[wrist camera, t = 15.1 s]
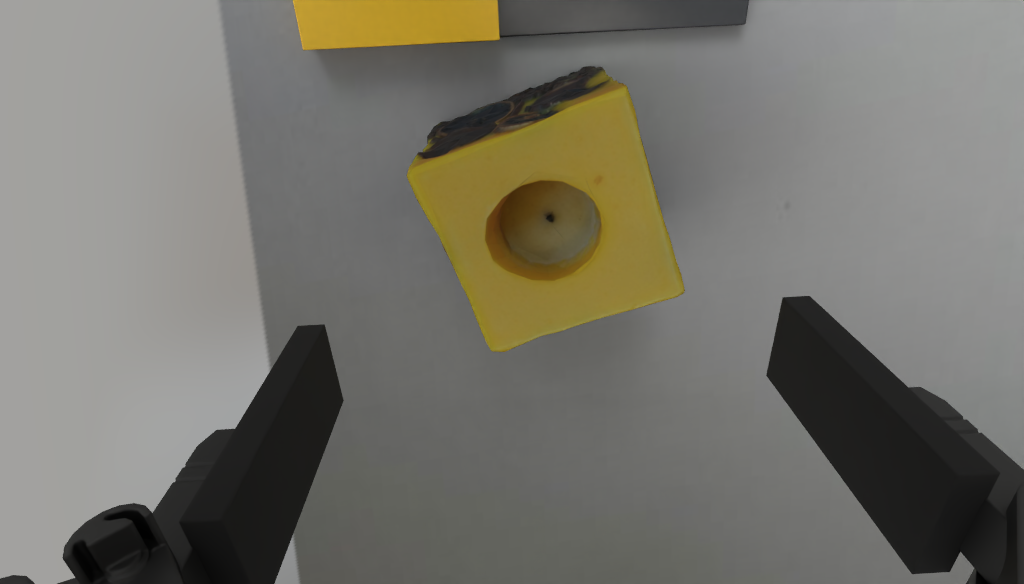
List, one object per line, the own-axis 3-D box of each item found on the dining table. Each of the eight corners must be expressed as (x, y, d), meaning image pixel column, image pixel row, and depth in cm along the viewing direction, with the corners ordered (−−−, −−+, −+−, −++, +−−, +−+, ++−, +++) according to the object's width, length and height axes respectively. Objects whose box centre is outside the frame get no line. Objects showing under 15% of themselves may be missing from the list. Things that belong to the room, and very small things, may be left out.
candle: (642, 222, 34) (693, 296, 25) (493, 275, 36) (492, 363, 27) (596, 58, 30) (639, 78, 21) (427, 126, 31) (400, 172, 22)
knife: (313, 48, 29) (302, 50, 28) (301, -12, 28) (290, -13, 26) (741, 26, 29) (755, 27, 28) (749, -35, 28) (764, -38, 26)
